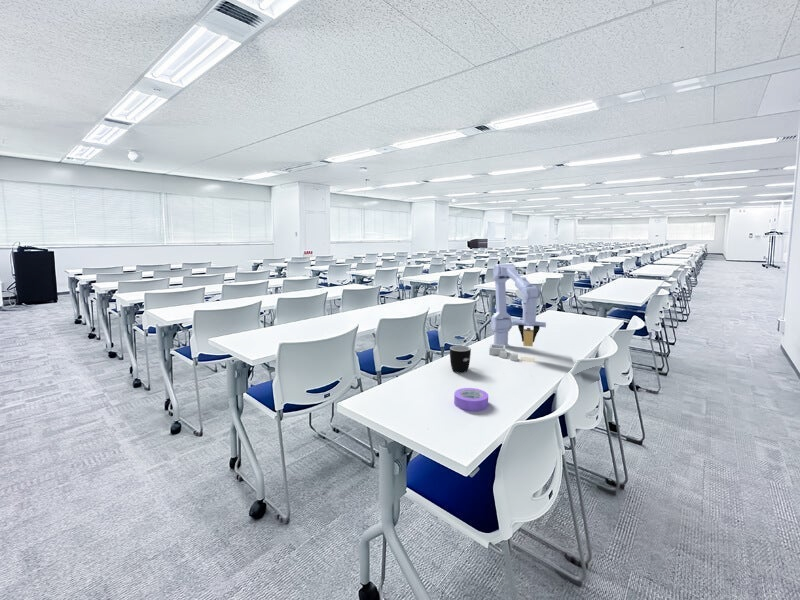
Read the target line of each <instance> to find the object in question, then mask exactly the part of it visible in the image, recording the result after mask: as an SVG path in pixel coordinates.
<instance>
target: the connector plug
mask: <svg viewBox="0 0 800 600" xmlns="http://www.w3.org/2000/svg"><path fill="white" fill-rule="evenodd" d="M533 343H534V342H533V329H532V328H531V327H526V328H524V342H523V343H522V344H523V347H534V346H533Z"/></svg>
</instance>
